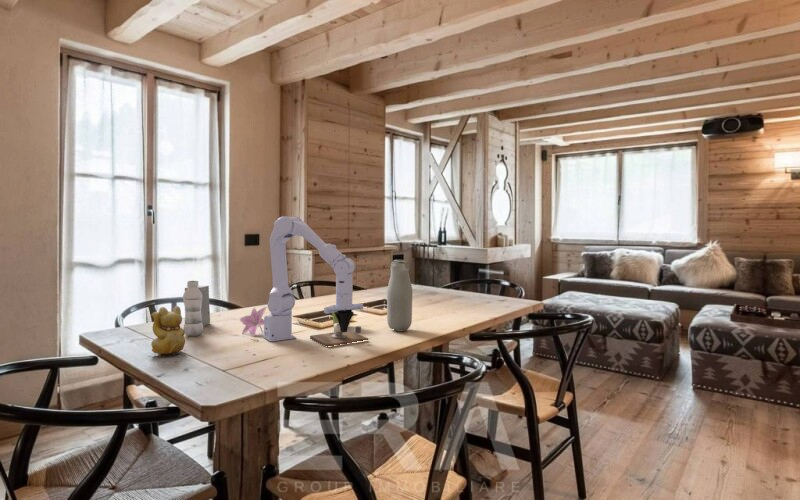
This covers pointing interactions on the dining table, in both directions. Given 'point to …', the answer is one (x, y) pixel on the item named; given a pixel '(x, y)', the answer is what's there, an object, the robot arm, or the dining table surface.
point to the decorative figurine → (168, 332)
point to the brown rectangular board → (337, 338)
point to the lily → (253, 321)
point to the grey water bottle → (399, 296)
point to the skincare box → (204, 304)
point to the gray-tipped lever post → (350, 328)
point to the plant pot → (335, 318)
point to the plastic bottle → (193, 309)
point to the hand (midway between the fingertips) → (343, 331)
